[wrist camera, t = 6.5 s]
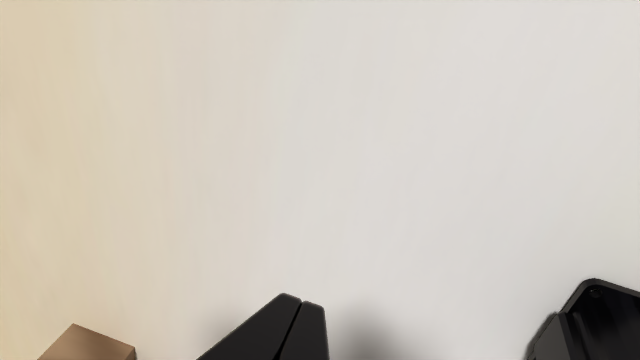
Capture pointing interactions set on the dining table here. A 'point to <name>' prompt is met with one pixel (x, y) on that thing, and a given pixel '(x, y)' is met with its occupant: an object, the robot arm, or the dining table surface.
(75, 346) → the walnut block two
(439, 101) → the dining table surface
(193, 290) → the dining table surface
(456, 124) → the dining table surface
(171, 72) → the dining table surface
